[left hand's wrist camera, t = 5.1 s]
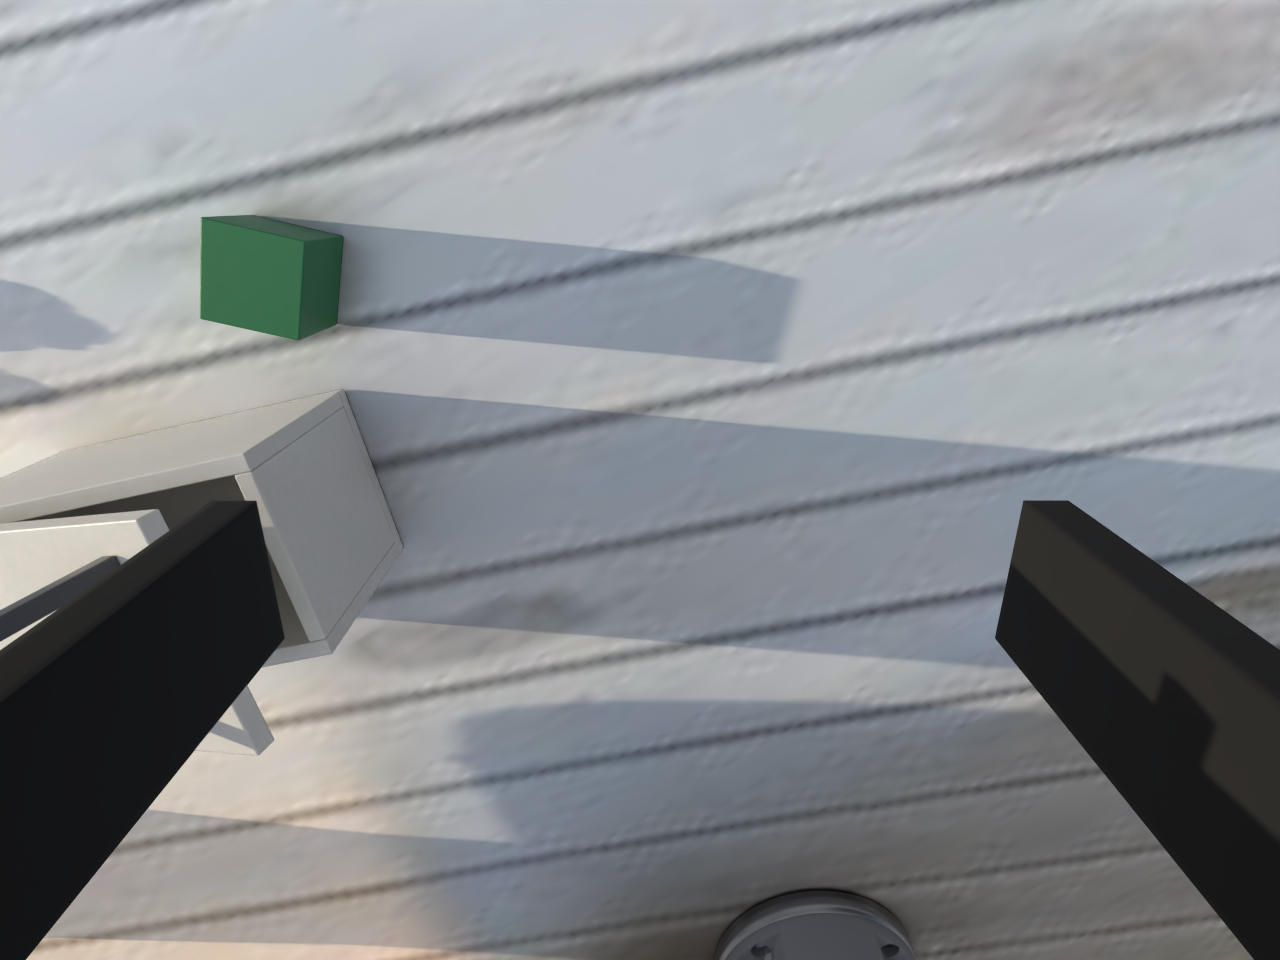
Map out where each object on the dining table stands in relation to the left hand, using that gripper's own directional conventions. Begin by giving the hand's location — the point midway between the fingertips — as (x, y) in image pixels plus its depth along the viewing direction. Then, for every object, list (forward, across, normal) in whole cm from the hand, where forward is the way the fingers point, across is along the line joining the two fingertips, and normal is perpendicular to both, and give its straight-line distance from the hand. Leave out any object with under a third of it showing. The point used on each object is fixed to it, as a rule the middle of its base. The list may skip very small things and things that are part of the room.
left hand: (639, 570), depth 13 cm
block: (+28, +18, -2) cm, 33 cm away
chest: (+28, +24, +10) cm, 38 cm away
